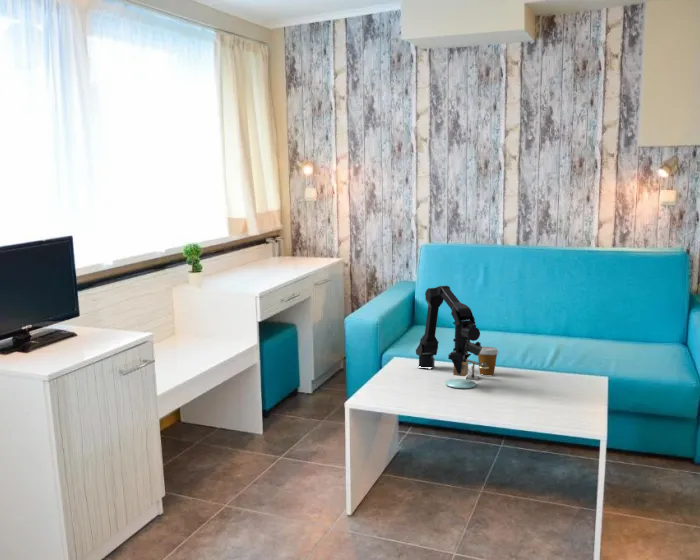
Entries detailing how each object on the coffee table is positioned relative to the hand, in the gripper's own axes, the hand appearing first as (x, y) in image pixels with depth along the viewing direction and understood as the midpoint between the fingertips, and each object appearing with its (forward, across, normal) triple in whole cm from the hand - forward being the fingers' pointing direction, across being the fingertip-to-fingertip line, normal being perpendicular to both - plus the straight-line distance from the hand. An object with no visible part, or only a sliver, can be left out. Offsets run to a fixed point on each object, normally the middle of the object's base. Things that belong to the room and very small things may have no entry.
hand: (460, 372), depth 287 cm
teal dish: (+6, 0, 0) cm, 6 cm away
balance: (+6, +13, -2) cm, 14 cm away
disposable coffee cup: (+6, +23, -6) cm, 24 cm away
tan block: (+1, 0, 0) cm, 1 cm away
